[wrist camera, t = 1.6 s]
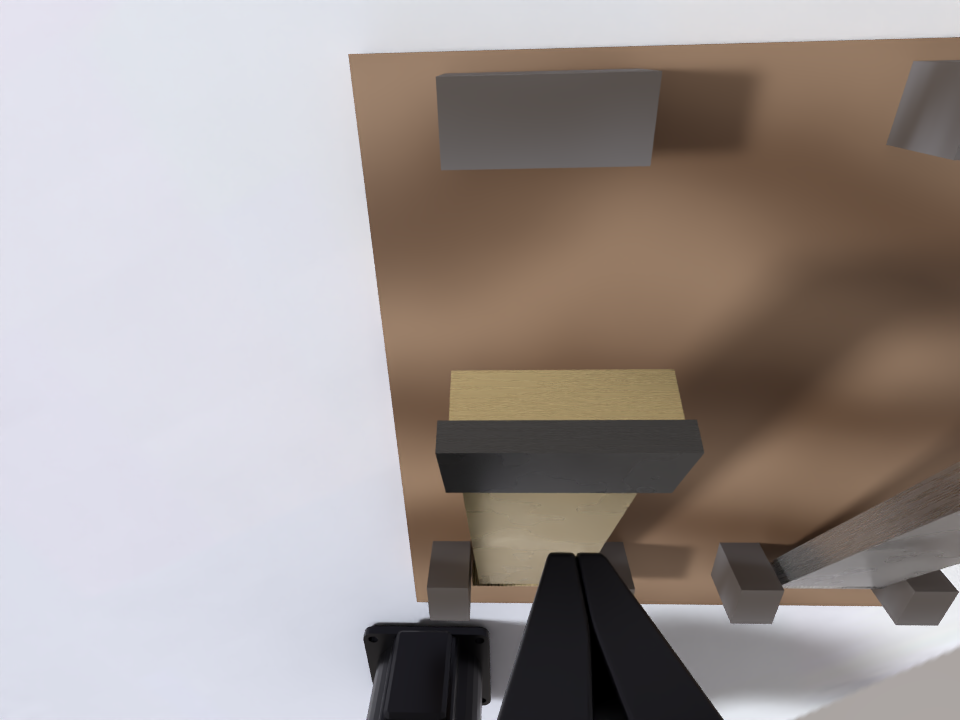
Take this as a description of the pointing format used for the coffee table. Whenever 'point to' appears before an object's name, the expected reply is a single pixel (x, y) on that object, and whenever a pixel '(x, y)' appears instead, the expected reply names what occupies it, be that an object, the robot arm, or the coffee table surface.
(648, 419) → the brass strap
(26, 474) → the coffee table surface
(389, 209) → the board
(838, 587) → the steel strap
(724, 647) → the coffee table surface
